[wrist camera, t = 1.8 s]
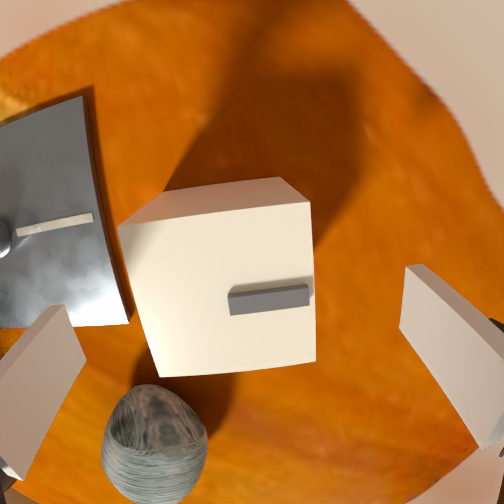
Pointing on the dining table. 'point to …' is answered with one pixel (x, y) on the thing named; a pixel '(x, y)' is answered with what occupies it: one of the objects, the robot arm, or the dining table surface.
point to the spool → (154, 446)
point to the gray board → (55, 222)
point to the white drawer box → (224, 277)
